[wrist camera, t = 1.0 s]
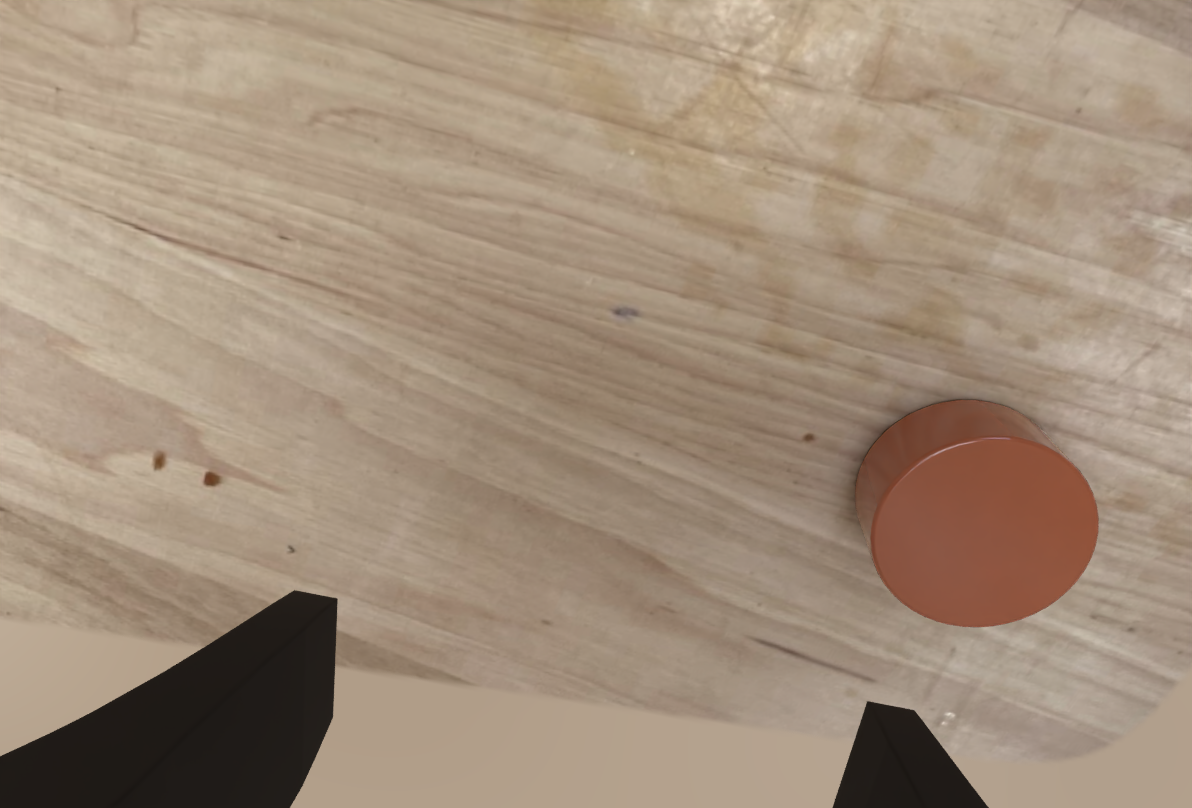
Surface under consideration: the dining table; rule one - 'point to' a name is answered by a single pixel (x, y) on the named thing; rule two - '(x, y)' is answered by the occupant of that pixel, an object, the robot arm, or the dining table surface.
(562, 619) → the dining table surface
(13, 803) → the robot arm
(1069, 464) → the cylinder
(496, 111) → the dining table surface
